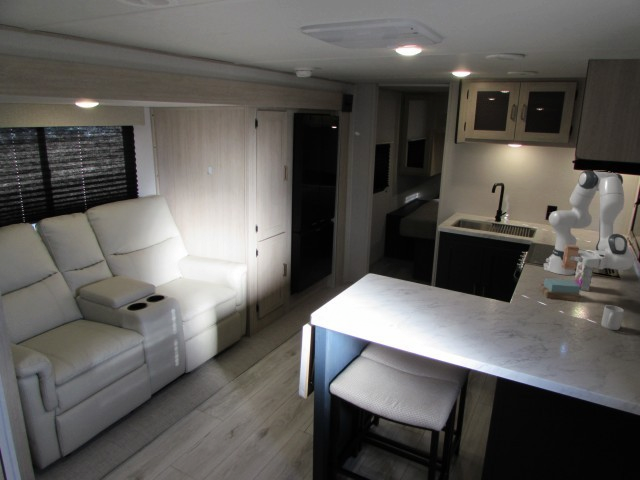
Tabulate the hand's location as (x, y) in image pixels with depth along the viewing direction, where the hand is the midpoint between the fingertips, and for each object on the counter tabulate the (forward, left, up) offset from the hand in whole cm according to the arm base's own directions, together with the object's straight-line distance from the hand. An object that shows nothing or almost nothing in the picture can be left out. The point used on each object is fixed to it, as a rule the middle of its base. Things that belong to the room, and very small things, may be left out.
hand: (568, 256), depth 238 cm
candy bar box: (-19, +15, -22) cm, 33 cm away
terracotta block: (0, +1, -6) cm, 7 cm away
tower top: (0, -1, -18) cm, 19 cm away
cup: (+38, +10, -22) cm, 45 cm away
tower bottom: (0, -1, -22) cm, 23 cm away
